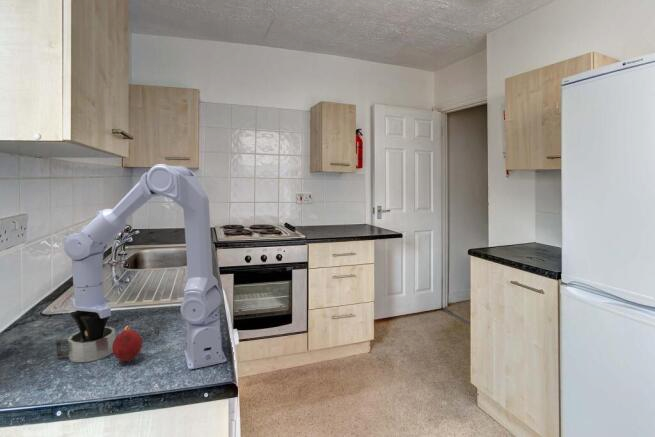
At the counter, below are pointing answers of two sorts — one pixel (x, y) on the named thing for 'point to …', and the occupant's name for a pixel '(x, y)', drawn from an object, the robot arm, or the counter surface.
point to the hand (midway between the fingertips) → (92, 341)
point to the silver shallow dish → (87, 347)
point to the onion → (127, 344)
